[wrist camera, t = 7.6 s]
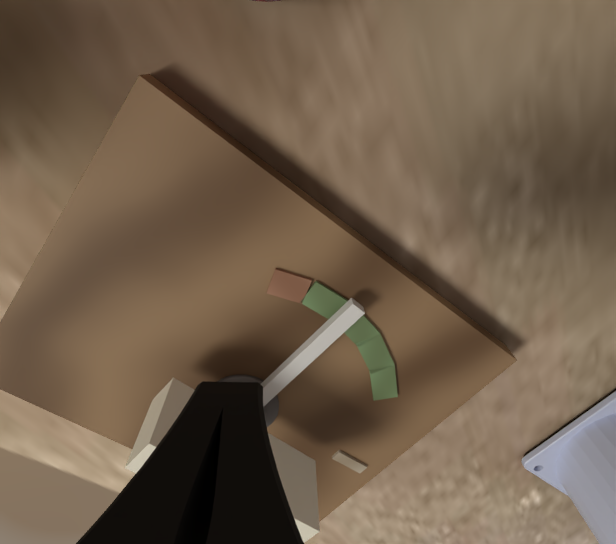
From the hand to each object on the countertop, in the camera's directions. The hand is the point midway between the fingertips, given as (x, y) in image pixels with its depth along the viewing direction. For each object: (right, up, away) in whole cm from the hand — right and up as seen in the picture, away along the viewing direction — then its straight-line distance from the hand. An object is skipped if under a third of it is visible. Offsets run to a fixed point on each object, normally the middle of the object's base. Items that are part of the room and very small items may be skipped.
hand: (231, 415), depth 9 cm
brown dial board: (-1, -1, +11) cm, 11 cm away
